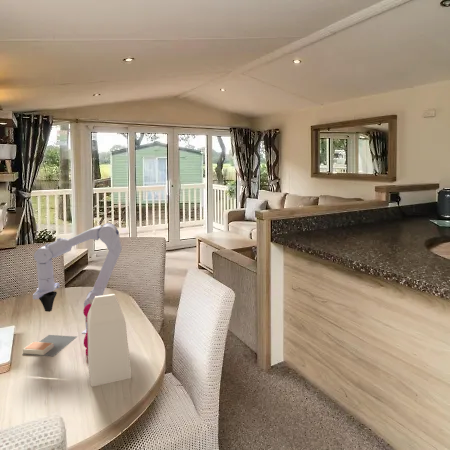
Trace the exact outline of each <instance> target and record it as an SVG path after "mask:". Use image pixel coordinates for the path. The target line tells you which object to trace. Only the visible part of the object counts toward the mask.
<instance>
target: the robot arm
mask: <svg viewBox="0 0 450 450" xmlns="http://www.w3.org/2000/svg"><path fill="white" fill-rule="evenodd" d="M89 240H94V241H98V240H100V241H101V242H102V243H104V245H105V246H106V248H107V250H108V252H107V254H106V257H105V259H104V261H103V263H102V265H101V269H100V271H99V274H98V275H97V278H96V280H95V283H94V285H93V287H92V289H91V290H90V291H89V292H88V293H87V295H86V298H85V300H84V302H83V308H84V307H85V306H86V305H88V304H90V303H89V301H90V300H91V299H93V300H94V298H95V296H102V295H104V292H105V290H106V288H107V285H108V282H109V280H110V278H111V276H112V273H113V271H114V269H115V266H116V265H117V261H118V259H119V257H120V255H121V252H122V248H123V245H122V241H121V237H120V232H119V230H118V228H117V226H116V225H115V224H114V223H110V222H106V223H104V224H103V225H102V224H100V225H97V226H94V227H92V228H91V227H90V228H89V229H88V230H84V231H83V232H80V233H79V234H76V235H75V236H73V237H70V238H66V237H62V238H61V237H58V238H57V239H56V240H55V241H53V242H50V243H48V242H47V243H45V245H43V246H41V247H39V248H38V249H37V250H36V251H34V254H33V259H34V261H36V262H35V263H36V272H37V273H36V274H37V286H38V287H36V289H35V290H36V291H35V292H34V293H33V294H32V300H39V301H40V302H41V304H42V306H43V310H44V312H47V313H48V312H52V311H53V306H54V301H55V298H56V296H57V294H58V293H57V291H55V290H56V289H60V288H61V287H60V286H61V285H60V282H55V277H54V276H55V275H54V264H53V259H56V258H57V257H60V256H62V255H64V254H67V253H69V252H71V250H72V248H73V247H75V246H76V245H79V244H83V243H84V242H86V241H89ZM85 318H86V316H85V315H84V320H85V329H84V330H83V331H82V332H81V334H83V335H84V334H85V335H86V333H87V329H88V326H87V323H86V319H85Z"/></svg>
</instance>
